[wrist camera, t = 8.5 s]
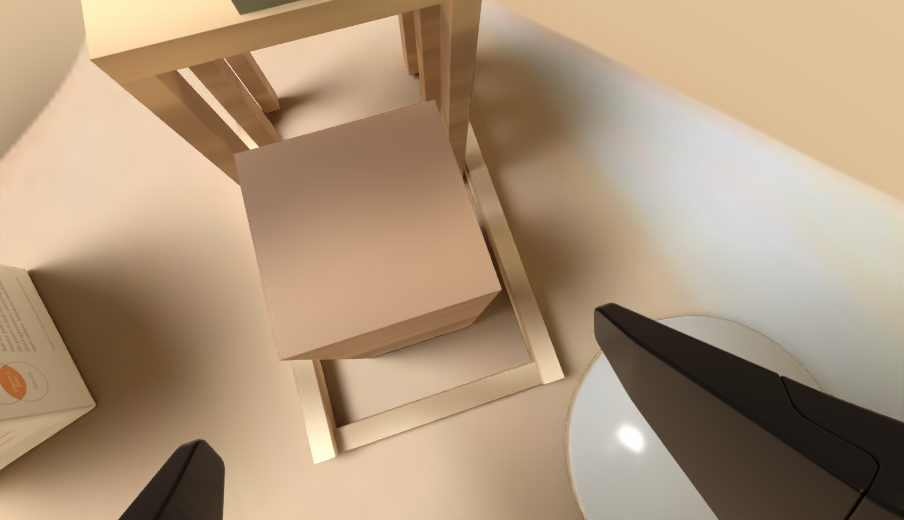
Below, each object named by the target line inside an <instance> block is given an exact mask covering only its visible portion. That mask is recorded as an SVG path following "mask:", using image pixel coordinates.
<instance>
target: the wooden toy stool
mask: <svg viewBox="0 0 904 520" xmlns="http://www.w3.org/2000/svg"><path fill="white" fill-rule="evenodd" d="M81 2H82V9H83V16H84V23H85V30H86V37H87V44H88V51H89V58H90V60H91V61H92V62H93V63H94V64H96V65H97V66H98V67H99V68H100V69H102V70H103V71H104V72H105V73H106V74H107V75H109V76H110V77H111V78H112V79H113V80H115V81H116V82H117V83H118V84H119V85H121V86H122V87H123V88H124V89H125V90H127V91H128V92H129V93H130V94H131V95H133V96H134V97H135V98H136V99H137V100H138V101H140V102H141V103H142V104H143V105H144V106H146V107H147V108H148V109H149V110H150V111H152V112H153V113H154V114H155V115H156V116H158V117H159V118H160V119H161V120H162V121H164V122H165V123H166V124H167V125H168V126H169V127H171V128H172V129H173V130H174V131H175V132H177V133H178V134H179V135H180V136H181V137H183V138H184V139H185V140H186V141H187V142H189V143H190V144H191V145H192V146H193V147H195V148H196V149H197V150H198V151H199V152H200V153H202V154H203V155H204V156H205V157H206V158H208V159H209V160H210V161H211V162H212V163H214V164H215V165H216V166H217V167H218V168H220V169H221V170H222V171H223V172H224V173H225V174H227V175H228V176H229V177H230V178H231V179H233V180H234V181H235V182H236V183H237V184H239V185H240V181H239V177H238V172H237V168H236V163H235V159H234V154H236V153H240V152H243V151H247V150H250V149H249V148H248V146H247V145H246V144H245V143H244V142H243V141H242V140H241V139H240V138H239V137H238V136H237V135H236V134H235V133H234V131H233V130H232V129H231V128H230V127H229V126H228V125H227V124H226V123H225V122H224V121H223V120H222V119H221V118H220V116H219V115H218V114H217V113H216V112H215V111H214V110H213V109H212V108H211V107H210V106H209V105H208V104H207V103H206V101H205V100H204V99H203V98H202V97H201V96H200V95H199V94H198V93H197V92H196V91H195V90H194V89H193V88H192V86H191V85H190V84H189V83H188V82H187V81H186V80H185V79H184V78H183V77H182V76H181V75H180V74H179V73H178V72H177V70H178V69H182V68H186V67H189V68H190V70H191V71H192V72H193V73H194V74H195V75H196V76H197V77H198V79H199V80H200V81H201V82H202V83H203V84H204V85H205V87H206V88H207V89H208V90H209V91H210V92H211V93H212V94H213V96H214V97H215V98H216V99H217V100H218V101H219V102H220V104H221V105H222V106H223V107H224V108H225V109H226V110H227V111H228V113H229V114H230V115H231V116H232V117H233V118H234V119H235V121H236V122H237V123H238V124H239V125H240V126H241V127H242V128H243V130H244V131H245V132H246V133H247V134H248V135H249V136H250V138H251V139H252V140H253V141H254V142H255V143H256V144H257V145H258V147H262V146H266V145H269V144H273V143H277V142H280V141H284V140H283V139H282V137H281V136H280V135H279V133H278V132H277V130H276V129H275V128H274V126H273V125H272V124H271V122H270V121H269V120H268V118H267V117H266V116H265V114H264V113H263V112H262V110H261V109H260V107H261V108H262V109H263V111H264V112H265V113H268V112H272V111H276V110H280V107H279V103H278V99H277V95H276V93H275V91H274V90H273V88H272V86H271V85H270V83H269V82H268V80H267V79H266V77H265V75H264V74H263V72H262V71H261V69H260V68H259V66H258V64H257V63H256V61H255V60H254V58H253V57H252V55H251V53H250V51H254V50H258V49H262V48H266V47H270V46H274V45H278V44H282V43H286V42H290V41H294V40H298V39H302V38H306V37H310V36H314V35H318V34H322V33H326V32H330V31H334V30H338V29H342V28H346V27H350V26H354V25H358V24H362V23H366V22H370V21H374V20H378V19H382V18H386V17H390V16H394V15H398V17H399V24H400V32H401V40H402V47H403V55H404V61H405V64H406V67H407V70H408V73H409V75H412V74H416V73H419V80H420V92H421V103H424V102H427V101H431V100H435V102H436V105H437V108H438V110H439V113H440V116H441V119H442V122H443V125H444V127H445V130H446V133H447V136H448V139H449V142H450V144H451V147H452V150H453V153H454V156H455V159H456V161H457V164H458V167H459V170H460V173H461V175H462V178H463V171H464V162H465V152H466V143H467V133H468V124H469V115H470V105H471V96H472V86H473V77H474V68H475V58H476V49H477V39H478V30H479V21H480V11H481V2H482V0H81ZM223 58H225V59H226V60H227V62H228V63H229V64H230V66H231V67H232V69H233V70H234V71H235V73H236V74H237V75H238V77H239V78H240V79H241V81H242V82H243V84H244V85H245V86H246V88H247V89H248V90H249V92H250V93H251V94H252V96H253V97H254V99H255V100H256V101H257V103H258V104H259V105H260V107H259V106H258V105H257V103H256V102H255V101H254V99H253V98H252V97H251V95H250V94H249V93H248V91H247V90H246V89H245V87H244V86H243V84H242V83H241V82H240V80H239V79H238V78H237V76H236V75H235V74H234V72H233V71H232V70H231V68H230V67H229V66H228V64H227V63H226V62H225V60H224V59H223Z"/></svg>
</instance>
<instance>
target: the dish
mask: <svg viewBox="0 0 904 520" xmlns="http://www.w3.org/2000/svg"><path fill="white" fill-rule="evenodd" d="M656 321H657V322H659V323H662V324H664V325H666V326H669V327H671V328H673V329H676V330H678V331H680V332H683V333H685V334H687V335H690V336H692V337H694V338H697V339H699V340H701V341H704V342H706V343H708V344H711V345H713V346H715V347H718V348H720V349H722V350H725V351H727V352H729V353H732V354H734V355H736V356H739V357H741V358H743V359H746V360H748V361H750V362H753V363H755V364H757V365H760V366H762V367H765V368H767V369H769V370H772V371H774V372H776V373H778V374H779V375H780V376H782V375H783V376H786V377H788V378H791V379H793V380H795V381H798V382H800V383H802V384H805V385H807V386H809V387H812V388H814V389H817V390H819V391H822V389H821V387H820V386H819V385H818V384H817V382H816V381H815V380H814V378H813V377H812V376H811V375H810V373H809V372H808V371H807V370H806V369H805V368H804V367H803V366H802V365H801V364H800V363H799V362H798V361H797V360H796V359H795V358H794V357H793V356H792V355H791V354H789V353H788V352H787V351H786V350H785V349H783V348H782V347H781V346H780V345H778V344H777V343H775V342H773V341H772V340H770V339H769V338H767V337H766V336H764V335H762V334H760V333H758V332H756V331H754V330H752V329H750V328H748V327H746V326H743V325H740V324H737V323H735V322H732V321H728V320H723V319H719V318H715V317H705V316H680V317H674V318H668V319H662V320H656ZM822 392H823V391H822ZM565 455H566V465H567V470H568V475H569V480H570V484H571V487H572V490H573V493H574V496H575V499H576V502H577V504H578V507H579V509H580V511H581V513H582V515H583V517H584V519H585V520H718V518H717V517H716V516H715V514H714V513H713V512H712V510H711V509H710V508H709V506H708V505H707V503H706V502H705V501H704V499H703V498H702V497H701V495H700V494H699V492H698V491H697V490H696V488H695V487H694V486H693V484H692V483H691V482H690V480H689V479H688V477H687V476H686V475H685V473H684V472H683V471H682V469H681V468H680V466H679V465H678V464H677V462H676V461H675V460H674V458H673V457H672V456H671V454H670V453H669V451H668V450H667V449H666V447H665V446H664V445H663V443H662V442H661V441H660V439H659V438H658V436H657V435H656V434H655V432H654V431H653V430H652V428H651V427H650V425H649V424H648V423H647V421H646V420H645V419H644V417H643V416H642V415H641V413H640V412H639V410H638V409H637V408H636V406H635V405H634V403H633V402H632V401H631V399H630V398H629V396H628V394H627V393H626V391H625V389H624V388H623V386H622V384H621V382H620V381H619V379H618V377H617V375H616V374H615V372H614V370H613V369H612V367H611V365H610V363H609V362H608V360H607V358H606V356H605V355H604V353H603V351H602V349H601V350H600V351H599V352H598V353H597V355H596V356H595V357H594V358H593V359H592V360H591V362H590V363H589V364H588V366H587V367H586V369H585V371H584V372H583V374H582V375H581V377H580V379H579V381H578V383H577V386H576V388H575V390H574V392H573V395H572V399H571V402H570V405H569V409H568V414H567V420H566V427H565Z"/></svg>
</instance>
